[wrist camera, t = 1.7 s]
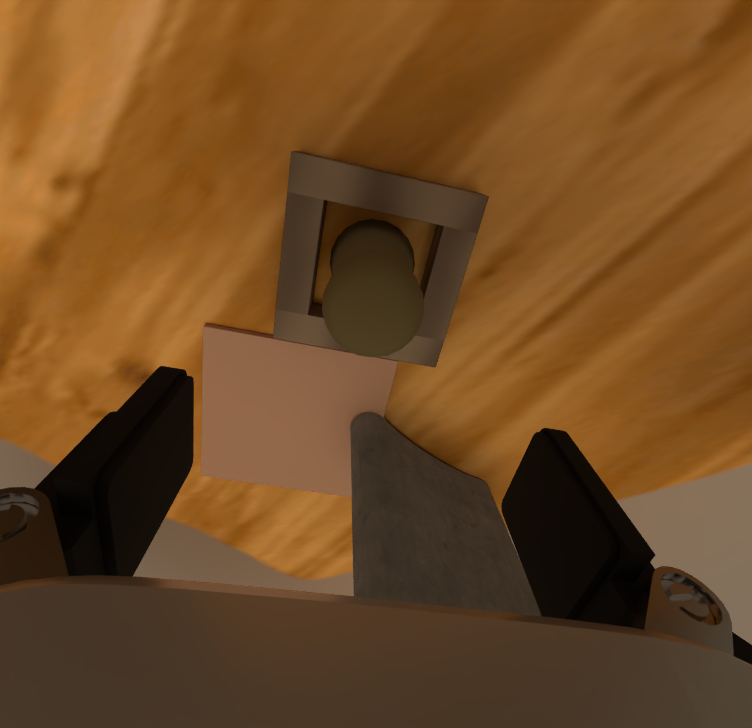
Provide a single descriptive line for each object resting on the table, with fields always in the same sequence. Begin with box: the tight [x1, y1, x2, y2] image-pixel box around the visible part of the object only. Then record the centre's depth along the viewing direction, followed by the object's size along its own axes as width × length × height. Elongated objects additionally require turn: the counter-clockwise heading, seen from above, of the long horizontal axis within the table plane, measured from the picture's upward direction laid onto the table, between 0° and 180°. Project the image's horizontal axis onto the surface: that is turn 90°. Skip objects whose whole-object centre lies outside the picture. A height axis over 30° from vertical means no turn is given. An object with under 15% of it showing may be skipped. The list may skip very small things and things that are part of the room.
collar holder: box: [273, 151, 489, 367], centre depth 28 cm, size 12×12×2 cm
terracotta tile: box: [201, 323, 398, 497], centre depth 35 cm, size 15×15×1 cm
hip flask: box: [350, 413, 541, 616], centre depth 28 cm, size 16×4×20 cm, turn 51°
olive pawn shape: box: [322, 219, 424, 357], centre depth 24 cm, size 6×6×11 cm
